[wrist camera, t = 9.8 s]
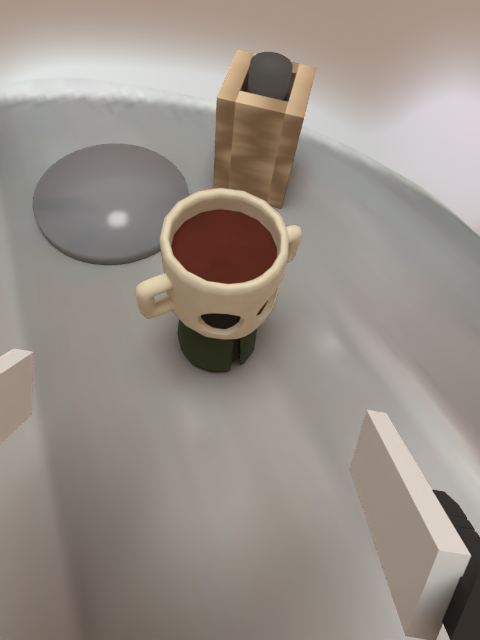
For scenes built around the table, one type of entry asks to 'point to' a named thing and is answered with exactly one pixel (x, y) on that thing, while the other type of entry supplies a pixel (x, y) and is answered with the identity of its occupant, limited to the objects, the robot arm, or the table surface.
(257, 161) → the block
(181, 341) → the character mug
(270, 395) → the table surface
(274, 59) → the dark grey tall cylinder
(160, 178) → the coaster
